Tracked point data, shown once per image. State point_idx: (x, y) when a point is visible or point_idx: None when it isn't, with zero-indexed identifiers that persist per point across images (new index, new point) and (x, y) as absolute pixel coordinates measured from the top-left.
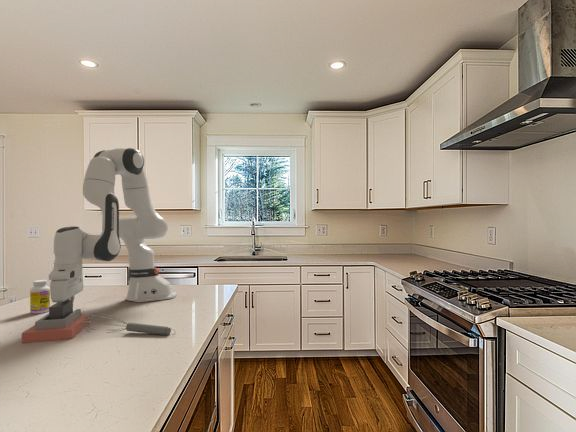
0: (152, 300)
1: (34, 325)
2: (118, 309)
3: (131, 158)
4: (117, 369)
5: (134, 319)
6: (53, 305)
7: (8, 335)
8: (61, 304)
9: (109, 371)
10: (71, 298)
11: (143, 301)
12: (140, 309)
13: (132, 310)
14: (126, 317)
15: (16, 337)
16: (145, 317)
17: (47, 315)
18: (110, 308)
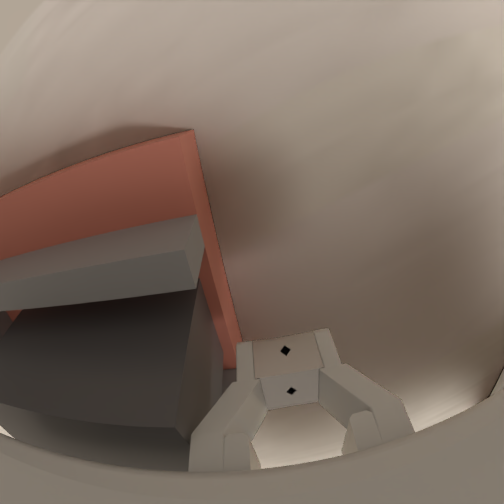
0: (492, 393)
1: (2, 203)
2: (460, 360)
3: None
4: (13, 437)
5: (281, 453)
6: (3, 409)
7: (37, 24)
8: (51, 446)
9: (5, 431)
10: (345, 439)
11: (499, 378)
12: (413, 419)
13: (414, 408)
14: (317, 434)
15: (4, 110)
16: (297, 462)
17: (27, 294)
18: (494, 321)
